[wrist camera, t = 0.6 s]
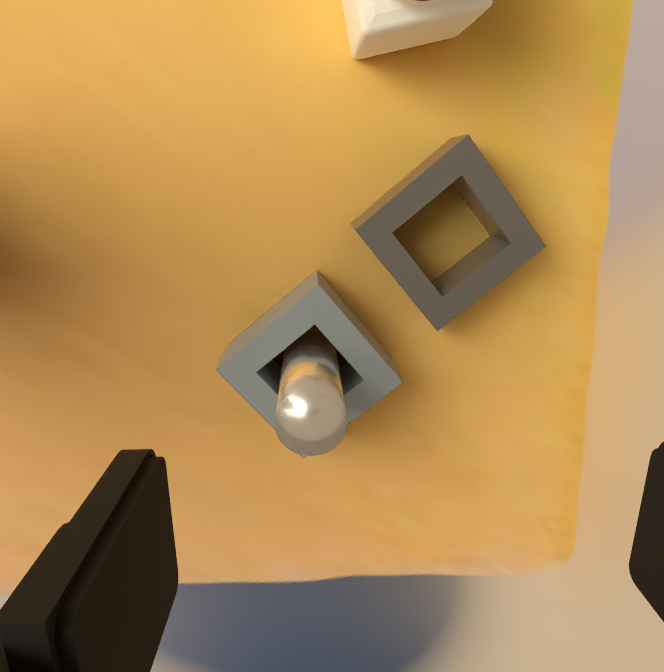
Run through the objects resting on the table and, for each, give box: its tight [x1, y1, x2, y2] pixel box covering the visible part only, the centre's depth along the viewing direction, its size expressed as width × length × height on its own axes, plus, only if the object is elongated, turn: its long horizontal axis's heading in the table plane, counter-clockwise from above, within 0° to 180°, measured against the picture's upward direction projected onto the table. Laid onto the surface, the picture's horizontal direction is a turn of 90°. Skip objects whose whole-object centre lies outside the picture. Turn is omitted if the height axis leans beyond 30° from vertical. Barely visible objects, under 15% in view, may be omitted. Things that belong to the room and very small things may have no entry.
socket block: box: [216, 270, 403, 459], centre depth 38 cm, size 9×9×5 cm
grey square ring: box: [351, 135, 546, 331], centre depth 36 cm, size 9×9×4 cm
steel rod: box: [275, 327, 347, 456], centre depth 35 cm, size 4×4×12 cm
